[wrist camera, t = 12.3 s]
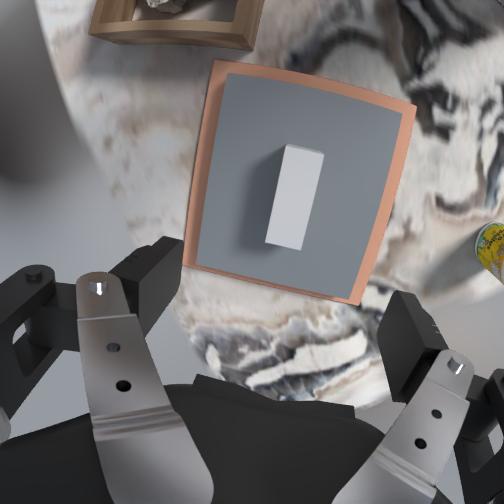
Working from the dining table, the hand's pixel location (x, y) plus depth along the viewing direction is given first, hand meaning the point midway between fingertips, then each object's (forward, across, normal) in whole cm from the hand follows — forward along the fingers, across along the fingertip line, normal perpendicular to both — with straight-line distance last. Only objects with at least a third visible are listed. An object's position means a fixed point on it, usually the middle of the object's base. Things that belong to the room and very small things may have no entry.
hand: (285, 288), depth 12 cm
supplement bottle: (+21, -24, 0) cm, 32 cm away
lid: (+20, 0, 0) cm, 20 cm away
